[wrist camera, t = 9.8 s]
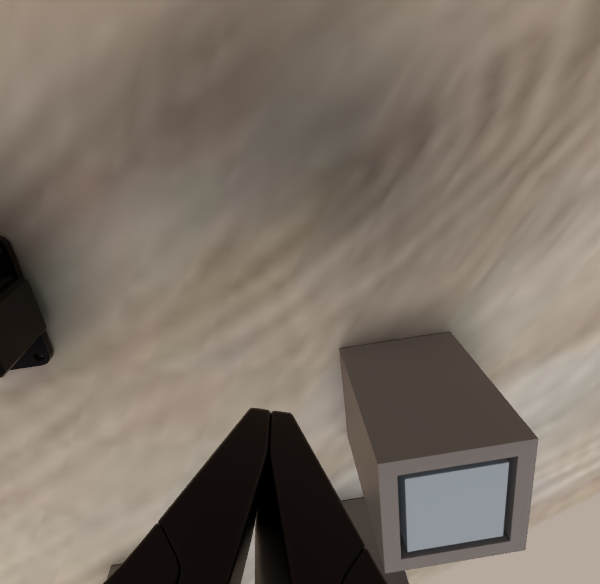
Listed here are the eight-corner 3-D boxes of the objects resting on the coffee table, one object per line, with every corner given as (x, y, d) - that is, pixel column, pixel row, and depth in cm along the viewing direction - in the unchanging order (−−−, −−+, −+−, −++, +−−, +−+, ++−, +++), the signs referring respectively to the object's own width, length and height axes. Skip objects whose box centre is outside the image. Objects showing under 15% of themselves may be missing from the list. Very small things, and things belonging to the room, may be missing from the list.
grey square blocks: (135, 624, 31) (98, 793, 24) (37, 394, 24) (-65, 535, 16) (446, 571, 32) (505, 719, 25) (450, 331, 24) (538, 438, 17)
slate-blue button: (390, 502, 21) (407, 552, 19) (387, 433, 19) (404, 479, 17) (476, 488, 21) (502, 536, 19) (479, 419, 20) (509, 462, 17)
